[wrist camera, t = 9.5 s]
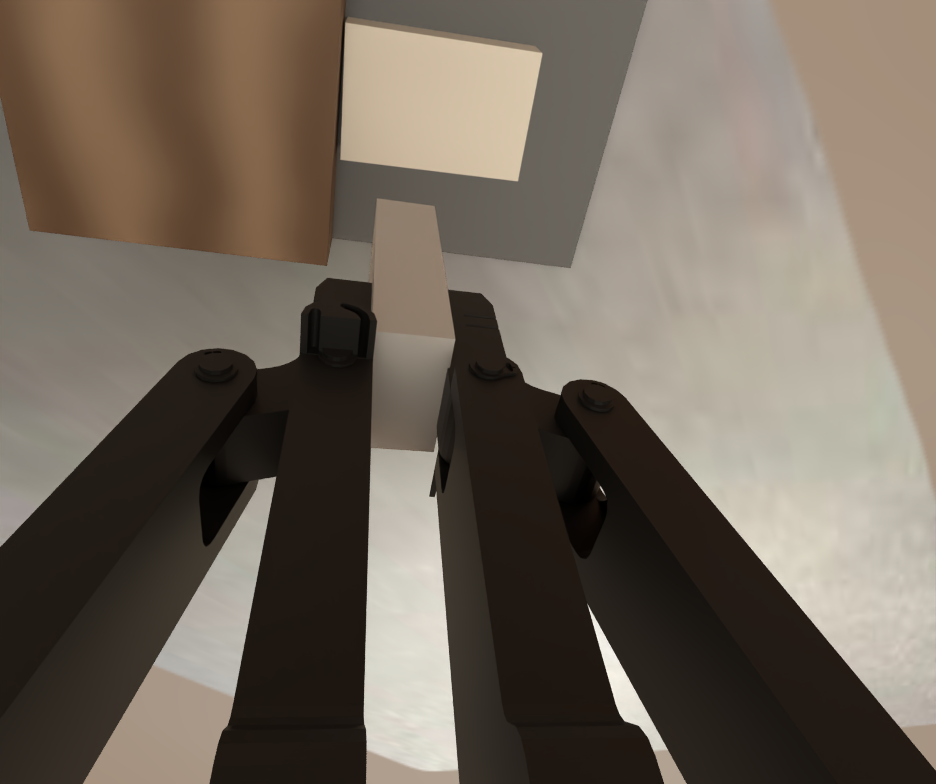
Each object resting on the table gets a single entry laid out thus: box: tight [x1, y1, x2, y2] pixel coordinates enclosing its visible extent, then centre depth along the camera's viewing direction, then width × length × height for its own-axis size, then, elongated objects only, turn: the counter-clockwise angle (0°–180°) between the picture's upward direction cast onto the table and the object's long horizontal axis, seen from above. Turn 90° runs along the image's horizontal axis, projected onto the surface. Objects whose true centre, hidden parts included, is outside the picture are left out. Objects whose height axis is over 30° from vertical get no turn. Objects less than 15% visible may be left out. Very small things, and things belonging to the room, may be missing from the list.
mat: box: [332, 0, 647, 268], centre depth 34 cm, size 14×16×1 cm
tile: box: [340, 17, 543, 181], centre depth 32 cm, size 9×6×2 cm, turn 81°
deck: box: [0, 0, 346, 266], centre depth 30 cm, size 14×16×4 cm
